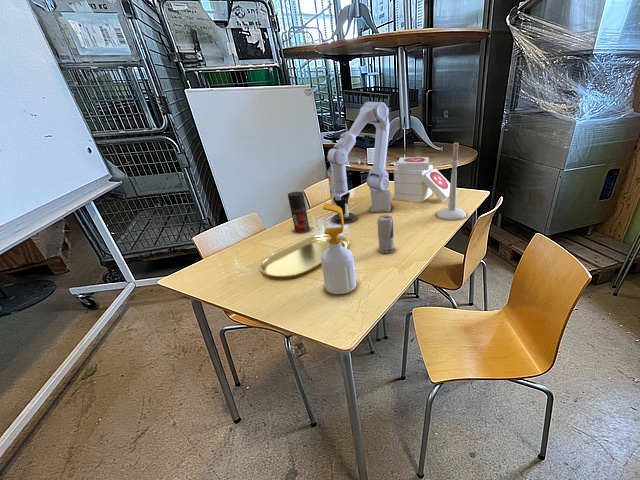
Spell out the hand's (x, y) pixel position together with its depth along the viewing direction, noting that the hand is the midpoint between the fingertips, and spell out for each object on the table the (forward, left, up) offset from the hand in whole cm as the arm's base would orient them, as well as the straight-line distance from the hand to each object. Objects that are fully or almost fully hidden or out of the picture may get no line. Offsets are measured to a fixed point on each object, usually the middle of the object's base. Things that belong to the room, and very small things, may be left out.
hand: (343, 211), depth 146 cm
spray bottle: (0, 0, -2) cm, 2 cm away
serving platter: (+5, +38, -4) cm, 38 cm away
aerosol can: (+7, -20, -4) cm, 21 cm away
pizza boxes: (-35, -32, -4) cm, 48 cm away
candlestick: (-47, -6, -4) cm, 48 cm away
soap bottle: (-11, +58, -4) cm, 59 cm away
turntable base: (0, 0, -3) cm, 3 cm away
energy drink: (-22, +32, -4) cm, 39 cm away
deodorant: (+15, +13, -4) cm, 20 cm away
